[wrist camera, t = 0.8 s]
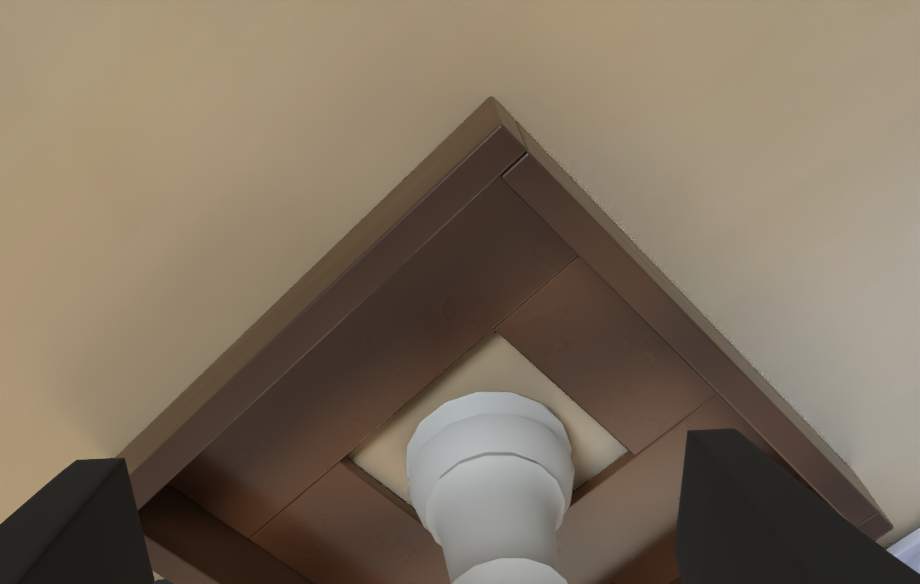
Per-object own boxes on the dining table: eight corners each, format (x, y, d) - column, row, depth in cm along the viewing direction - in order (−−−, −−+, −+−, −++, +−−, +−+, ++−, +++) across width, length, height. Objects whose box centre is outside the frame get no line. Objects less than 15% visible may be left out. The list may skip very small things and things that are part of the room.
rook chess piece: (590, 397, 23) (672, 640, 16) (542, 525, 25) (596, 795, 18) (426, 366, 22) (432, 606, 15) (389, 500, 24) (380, 771, 17)
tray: (853, 470, 24) (895, 528, 22) (492, 718, 28) (499, 789, 26) (491, 93, 19) (501, 123, 17) (108, 463, 23) (77, 524, 21)
